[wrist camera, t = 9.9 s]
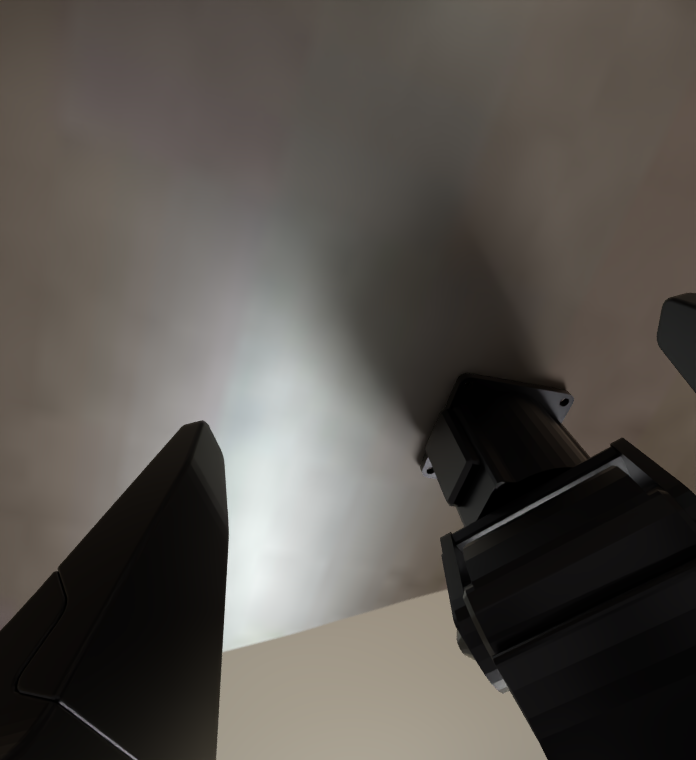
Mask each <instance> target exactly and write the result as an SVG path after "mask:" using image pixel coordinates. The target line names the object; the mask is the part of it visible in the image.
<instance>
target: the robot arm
mask: <svg viewBox="0 0 696 760" xmlns="http://www.w3.org/2000/svg"><path fill="white" fill-rule="evenodd" d="M657 342H658V345H659V347H660V348H661V350H662V351H663V352H664V354H665V355H666V356H667V357H668V359H669V360H670V361H671V363H672V364H673V365H674V366H675V368H676V369H677V370H678V371H679V373H680V374H681V375H682V376H683V378H684V379H685V380H686V381H687V383H688V384H689V385H690V387H691V388H692V389H693V390H694V392H695V393H696V293H685V294H681V295H677V296H674V297H670V298H668V299H667V300H665V302H664V303H663V306H662V310H661V315H660V321H659V326H658V331H657ZM467 382H471V383H470V384H469V385H468V386H464V384H465V383H467ZM564 398H565V399H564ZM562 399H564V400H563V401H562V402H560V401H561V400H562ZM573 401H574V398H573V396H572V395H571V394H570V393H569V392H568V391H566V390H561V389H555V388H550V387H544V386H538V385H533V384H527V383H522V382H516V381H510V380H505V379H499V378H493V377H488V376H482V375H477V374H471V373H465V374H463V375H461V376H460V377H459V378H458V379H457V381H456V383H455V386H454V388H453V390H452V393H451V395H450V397H449V400H448V402H447V404H446V407H445V409H444V410H442V411H441V412H440V414H439V417H438V419H437V421H436V424H435V426H434V428H433V431H432V433H431V436H430V438H429V440H428V443H427V445H426V447H425V450H426V453H425V456H424V458H423V460H422V463H421V466H420V468H421V471H422V474H423V475H424V476H425V477H428V478H436V479H437V480H438V482H439V484H440V487H441V489H442V492H443V494H444V497H445V499H446V501H447V503H448V504H449V505H450V506H455V507H456V508H457V511H458V513H459V515H460V518H461V520H462V522H463V525H464V528H462V529H460V530H458V531H456V532H455V533H453V534H452V533H451V532H450V533H448V534H446V535H444V536H443V537H441V538H440V541H441V547H442V552H443V554H442V561H443V566H444V572H445V577H446V582H447V588H448V593H449V599H450V604H451V609H452V615H453V620H454V623H455V626H456V628H457V643H458V645H459V647H460V650H461V651H462V653H463V654H464V655H466V656H468V657H470V658H472V659H474V660H476V661H477V663H478V665H479V666H480V668H481V669H482V671H483V672H484V674H485V676H486V677H487V678H488V680H489V681H490V682H491V684H492V685H493V686H494V687H495V688H496V689H497V690H498V691H499V692H501V693H506V692H508V691H510V692H511V694H512V695H513V697H514V699H515V701H516V702H517V704H518V706H519V708H520V709H521V711H522V713H523V715H524V717H525V718H526V720H527V722H528V723H529V725H530V727H531V729H532V731H533V732H534V734H535V736H536V738H537V739H538V741H539V743H540V745H541V747H542V749H543V751H544V753H545V755H546V757H547V759H548V760H696V495H695V494H694V493H693V492H692V491H691V490H689V489H688V488H687V487H686V486H685V485H684V484H682V483H681V482H680V481H679V480H677V479H676V478H675V477H673V476H672V475H671V474H670V473H668V472H667V471H666V470H664V469H663V468H662V467H660V466H659V465H658V464H657V463H655V462H654V461H653V460H651V459H650V458H649V457H647V456H646V455H645V454H644V453H642V452H641V451H640V450H638V449H637V448H636V447H634V446H633V445H632V444H631V443H629V442H628V441H627V440H625V439H624V438H623V437H622V438H620V439H618V440H617V441H615V442H613V443H611V444H610V446H611V447H609V448H607V449H605V450H604V451H602V452H600V453H598V454H596V455H594V456H593V457H591V458H590V456H589V455H588V454H587V453H586V452H585V451H584V449H583V448H582V447H581V446H580V445H579V444H578V442H577V441H576V440H575V439H574V438H573V437H572V435H571V434H570V433H569V432H568V431H567V429H566V428H565V427H564V426H563V425H562V424H561V423H562V421H563V420H564V418H565V416H566V414H567V413H568V411H569V409H570V407H571V406H572V404H573ZM430 467H432V468H431V469H428V468H430ZM228 541H229V526H228V509H227V494H226V480H225V465H224V458H223V454H222V451H221V449H220V447H219V445H218V443H217V441H216V439H215V437H214V435H213V433H212V431H211V429H210V427H209V425H208V424H207V423H206V422H205V421H203V420H202V421H198V422H194V423H190V424H186V425H184V426H182V427H181V428H180V429H179V430H178V432H177V433H176V434H175V435H174V436H173V437H172V438H171V440H170V441H169V442H168V443H167V444H166V445H165V446H164V448H163V449H162V450H161V451H160V452H159V453H158V454H157V455H156V457H155V458H154V459H153V460H152V461H151V462H150V463H149V465H148V466H147V467H146V468H145V469H144V470H143V471H142V472H141V474H140V475H139V476H138V477H137V478H136V479H135V480H134V482H133V483H132V484H131V485H130V486H129V487H128V488H127V490H126V491H125V492H124V493H123V494H122V495H121V496H120V497H119V499H118V500H117V501H116V502H115V503H114V504H113V505H112V507H111V508H110V509H109V510H108V511H107V512H106V513H105V515H104V516H103V517H102V518H101V519H100V520H99V521H98V522H97V524H96V525H95V526H94V527H93V528H92V529H91V530H90V532H89V533H88V534H87V535H86V536H85V537H84V538H83V539H82V541H81V542H80V543H79V544H78V545H77V546H76V547H75V549H74V550H73V551H72V552H71V553H70V554H69V555H68V556H67V558H66V559H65V560H64V561H63V562H62V563H61V564H60V566H59V567H58V571H55V572H53V573H52V575H51V576H50V577H49V578H48V579H47V580H46V581H45V582H44V584H43V585H42V586H41V587H40V588H39V589H38V590H37V592H36V593H35V594H34V595H33V596H32V597H31V598H30V599H29V600H28V601H27V603H26V604H25V605H24V606H23V607H22V608H21V609H20V610H19V611H18V612H17V614H16V615H15V616H14V617H13V618H12V619H11V620H10V621H9V622H8V623H7V624H6V625H5V626H4V627H3V629H2V630H1V631H0V760H216V751H217V750H216V749H217V734H218V717H219V698H220V682H221V664H222V647H223V630H224V612H225V595H226V577H227V560H228Z"/></svg>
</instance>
